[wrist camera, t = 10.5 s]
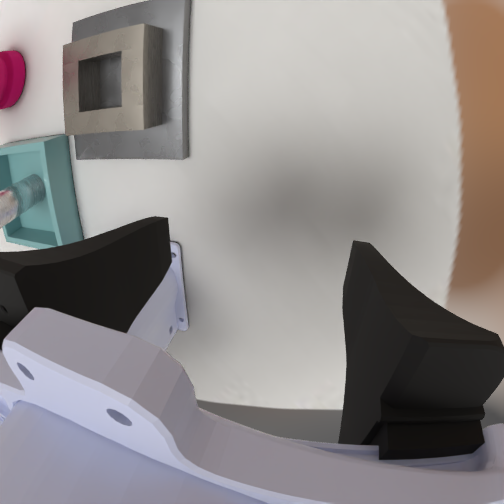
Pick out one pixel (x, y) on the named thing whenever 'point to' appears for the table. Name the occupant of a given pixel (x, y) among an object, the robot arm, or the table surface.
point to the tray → (56, 192)
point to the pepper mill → (11, 77)
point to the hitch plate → (172, 86)
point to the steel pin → (20, 198)
